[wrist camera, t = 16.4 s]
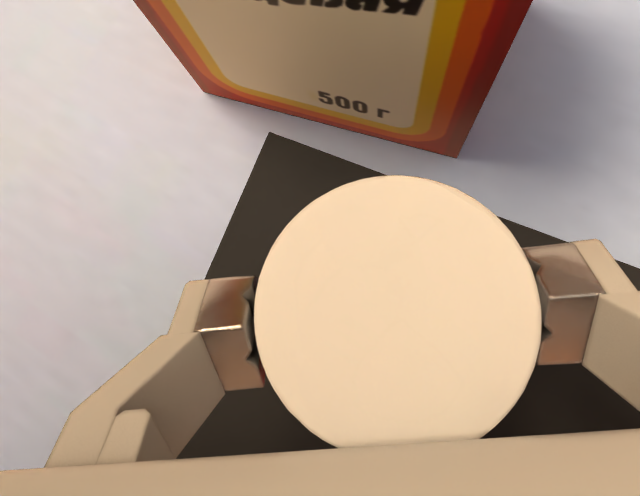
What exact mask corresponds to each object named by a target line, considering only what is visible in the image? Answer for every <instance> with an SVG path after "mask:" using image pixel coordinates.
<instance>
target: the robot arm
mask: <svg viewBox="0 0 640 496" xmlns="http://www.w3.org/2000/svg"><path fill="white" fill-rule="evenodd" d="M521 249H522V250H523V252H524V253H525V256H526V258H527V260H528V262H529V264H530V266H531V269H532V271H533V274H534V278H535V281H536V284H537V288H538V293H539V298H540V304H541V319H542V326H541V342H540V347H539V351H538V356H537V360H536V363H537V366H538V365H557V364H575V363H582V366H584V367H585V368H586V369H587V370H589V371H590V372H591V373H592V374H594V375H595V376H596V377H597V378H599V379H600V380H601V381H602V382H604V383H605V384H606V385H607V386H609V387H610V388H611V389H612V390H614V391H615V392H616V393H617V394H618V395H620V396H621V397H622V398H623V399H625V400H626V401H627V402H628V403H630V404H631V405H632V406H633V407H635V408H636V409H637V410H638V411H640V291H637V289H636V288H635V287H634V285H633V284H632V283H631V281H630V280H629V279H628V277H627V276H626V275H625V273H624V272H623V270H622V269H621V268H620V266H619V265H618V264H617V262H616V261H615V260H614V258H613V257H612V256H611V254H610V253H609V252H608V250H607V249H606V248H605V246H604V245H603V244H602V242H601V241H599V240H597V239H589V240H581V241H574V242H570V243H562V244H553V245H544V246H534V247H525V248H521ZM258 280H259V278H258V277H257V276H256V275H252V276H240V277H227V278H215V279H206V280H195V281H189V282H188V283H187V284H186V285H185V287H184V289H183V292H182V295H181V298H180V301H179V303H178V306H177V309H176V312H175V315H174V317H173V320H172V323H171V326H170V329H169V331H168V334H167V335H161V336H160V337H158V338H157V339H156V340H155V341H154V342H153V343H151V344H150V345H149V346H148V347H147V348H146V349H144V350H143V351H142V352H141V353H140V354H139V355H137V356H136V357H135V358H134V359H133V360H132V361H130V362H129V363H128V364H127V365H126V366H124V367H123V368H122V369H121V370H120V371H119V372H117V373H116V374H115V375H114V376H113V377H112V378H110V379H109V380H108V381H107V382H106V383H105V384H103V385H102V386H101V387H100V388H99V389H98V390H96V391H95V392H94V393H93V394H92V395H91V396H89V397H88V398H87V399H86V400H85V401H84V402H82V403H81V404H80V405H79V406H78V407H76V408H75V409H74V410H73V411H72V412H71V413H70V415H69V417H68V419H67V421H66V423H65V425H64V427H63V429H62V431H61V433H60V435H59V438H58V440H57V442H56V444H55V446H54V448H53V450H52V452H51V454H50V456H49V458H48V460H47V462H46V464H45V466H44V468H35V469H20V470H5V471H0V496H640V428H638V429H623V430H608V431H593V432H578V433H562V434H547V435H532V436H517V437H502V438H487V439H472V440H457V441H442V442H427V443H412V444H397V445H381V446H366V447H351V448H336V449H321V450H306V451H291V452H276V453H261V454H246V455H231V456H216V457H201V458H186V459H176V458H177V456H178V455H179V454H180V452H181V451H182V450H183V449H184V447H185V446H186V445H187V443H188V442H189V441H190V439H191V438H192V437H193V435H194V434H195V433H196V432H197V430H198V429H199V428H200V426H201V425H202V424H203V422H204V421H205V420H206V418H207V417H208V416H209V415H210V413H211V412H212V411H213V409H214V408H215V407H216V405H217V404H218V403H219V401H220V400H221V399H222V398H223V396H224V395H225V392H226V391H235V390H245V389H254V388H263V387H264V384H265V376H266V373H265V370H264V367H263V365H262V362H261V359H260V355H259V352H258V348H257V343H256V337H255V328H254V305H255V295H256V289H257V285H258Z"/></svg>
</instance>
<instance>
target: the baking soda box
mask: <svg viewBox="0 0 640 496" xmlns="http://www.w3.org/2000/svg"><path fill="white" fill-rule="evenodd" d="M133 1H134V2H135V3H136V5H137V6H138V7H139V9H140V10H141V11H142V12H143V14H144V15H145V16H146V18H147V19H148V20H149V22H150V23H151V24H152V25H153V27H154V28H155V29H156V31H157V32H158V33H159V35H160V36H161V37H162V38H163V40H164V41H165V42H166V44H167V45H168V46H169V47H170V49H171V50H172V51H173V53H174V54H175V55H176V57H177V58H178V59H179V60H180V62H181V63H182V64H183V66H184V67H185V68H186V70H187V71H188V72H189V73H190V75H191V76H192V77H193V79H194V80H195V81H196V83H197V84H198V85H199V86H200V88H201V89H202V90H203V92H206V93H210V94H214V95H218V96H221V97H225V98H229V99H233V100H237V101H240V102H244V103H248V104H252V105H256V106H259V107H263V108H267V109H271V110H275V111H279V112H282V113H286V114H290V115H294V116H298V117H301V118H305V119H309V120H313V121H317V122H320V123H324V124H328V125H332V126H336V127H339V128H343V129H347V130H351V131H355V132H359V133H362V134H366V135H370V136H374V137H378V138H381V139H385V140H389V141H393V142H397V143H400V144H404V145H408V146H412V147H416V148H420V149H423V150H427V151H431V152H435V153H439V154H442V155H446V156H450V157H454V158H457V156H458V154H459V152H460V150H461V148H462V146H463V144H464V142H465V140H466V138H467V136H468V134H469V131H470V129H471V127H472V125H473V123H474V121H475V119H476V117H477V115H478V113H479V111H480V109H481V107H482V105H483V102H484V100H485V98H486V96H487V94H488V92H489V90H490V88H491V86H492V84H493V82H494V80H495V78H496V76H497V74H498V71H499V69H500V67H501V65H502V63H503V61H504V59H505V57H506V55H507V53H508V51H509V49H510V47H511V45H512V42H513V40H514V38H515V36H516V34H517V32H518V30H519V28H520V26H521V24H522V22H523V20H524V18H525V16H526V13H527V11H528V9H529V7H530V5H531V3H532V1H533V0H133Z"/></svg>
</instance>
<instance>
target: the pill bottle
mask: <svg viewBox="0 0 640 496" xmlns="http://www.w3.org/2000/svg"><path fill="white" fill-rule="evenodd" d="M541 326H542V319H541V304H540V298H539V293H538V288H537V284H536V281H535V278H534V274H533V271H532V269H531V266H530V264H529V262H528V260H527V258H526V256H525V253H524V252H523V250H522V249H521V247H520V245H519V244H518V242H517V241H516V239H515V238H514V236H513V234H512V233H511V231H510V230H509V229H508V228H507V227H506V226H505V225H504V224H503V223H502V222H501V220H500V219H499V218H498V217H497V216H496V215H495V214H494V213H492V212H491V211H490V210H489V209H487V208H486V207H485V206H484V205H482V204H481V203H479V202H478V201H477V200H475V199H474V198H473V197H471V196H469V195H467V194H465V193H463V192H462V191H460V190H458V189H456V188H453V187H451V186H448V185H446V184H443V183H440V182H437V181H434V180H430V179H425V178H420V177H412V176H401V175H391V176H377V177H371V178H365V179H361V180H357V181H354V182H351V183H347V184H345V185H342V186H340V187H337V188H335V189H333V190H331V191H329V192H328V193H326V194H324V195H322V196H320V197H319V198H317V199H315V200H314V201H312V202H311V203H310V204H309V205H307V206H306V207H305V208H304V209H302V210H301V211H300V212H299V213H298V214H297V215H296V216H295V217H294V218H293V219H292V220H291V221H290V222H289V223H288V224H287V226H286V227H285V228H284V230H283V231H282V232H281V234H280V235H279V236H278V238H277V239H276V241H275V242H274V244H273V246H272V247H271V249H270V252H269V254H268V256H267V258H266V260H265V263H264V265H263V268H262V271H261V273H260V276H259V280H258V285H257V289H256V295H255V305H254V328H255V337H256V343H257V348H258V352H259V355H260V359H261V362H262V365H263V367H264V370H265V373H266V375H267V377H268V379H269V381H270V383H271V385H272V387H273V389H274V391H275V392H276V394H277V395H278V397H279V398H280V400H281V401H282V403H283V404H284V405H285V407H286V408H287V409H288V410H289V412H290V413H291V414H292V415H294V416H295V417H296V418H297V419H298V420H299V421H300V422H301V423H302V424H303V425H304V426H305V427H306V428H307V429H308V430H309V431H310V432H312V433H313V434H315V435H316V436H318V437H319V438H321V439H322V440H323V441H325V442H327V443H329V444H331V445H333V446H335V447H337V448H351V447H366V446H381V445H397V444H412V443H427V442H442V441H457V440H472V439H480V438H481V437H483V436H484V435H485V434H487V433H488V432H489V431H490V430H492V429H493V428H494V427H495V426H496V425H497V424H498V423H499V422H500V421H501V420H502V419H503V418H504V417H505V416H506V415H507V414H508V413H509V411H510V410H511V409H512V408H513V407H514V405H515V404H516V402H517V401H518V399H519V398H520V396H521V395H522V393H523V392H524V390H525V388H526V386H527V383H528V381H529V379H530V377H531V374H532V372H533V370H534V367H535V363H536V360H537V356H538V351H539V347H540V342H541Z"/></svg>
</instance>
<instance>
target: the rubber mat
mask: <svg viewBox="0 0 640 496" xmlns="http://www.w3.org/2000/svg"><path fill="white" fill-rule="evenodd" d="M377 176H387V175H385V174H382V173H379V172H376V171H374V170H371V169H368V168H366V167H363V166H360V165H358V164H355V163H352V162H349V161H347V160H344V159H341V158H339V157H336V156H333V155H330V154H328V153H325V152H322V151H320V150H317V149H314V148H312V147H309V146H306V145H303V144H301V143H298V142H295V141H293V140H290V139H287V138H284V137H282V136H279V135H276V134H274V133H271V132H269V133H268V136H267V138H266V140H265V143H264V145H263V147H262V149H261V152H260V154H259V156H258V158H257V161H256V163H255V165H254V168H253V170H252V172H251V174H250V177H249V179H248V181H247V184H246V186H245V188H244V190H243V193H242V195H241V197H240V200H239V202H238V204H237V206H236V209H235V211H234V213H233V216H232V218H231V220H230V222H229V225H228V227H227V229H226V231H225V234H224V236H223V238H222V241H221V243H220V245H219V247H218V250H217V252H216V254H215V257H214V259H213V261H212V263H211V266H210V268H209V270H208V273H207V275H206V277H205V279H204V280H206V279H215V278H227V277H240V276H252V275H256V276H257V277H258V278H259V276H260V273H261V271H262V268H263V265H264V263H265V260H266V258H267V256H268V254H269V252H270V249H271V247H272V246H273V244H274V242H275V241H276V239H277V238H278V236H279V235H280V234H281V232H282V231H283V230H284V228H285V227H286V226H287V224H288V223H289V222H290V221H291V220H292V219H293V218H294V217H295V216H296V215H297V214H298V213H299V212H300V211H301V210H302V209H304V208H305V207H306V206H307V205H309V204H310V203H311V202H312V201H314V200H315V199H317V198H319V197H320V196H322V195H324V194H326V193H328V192H329V191H331V190H333V189H335V188H337V187H340V186H342V185H345V184H347V183H351V182H354V181H357V180H361V179H365V178H371V177H377ZM497 217H498V216H497ZM498 218H499V219H500V220H501V222H502V223H503V224H504V225H505V226H506V227H507V228H508V229H509V230H510V231H511V233H512V234H513V236H514V238H515V239H516V241H517V242H518V244H519V245H520V247H521V248H525V247H534V246H544V245H553V244H562V243H569V242H566V241H563V240H560V239H558V238H555V237H552V236H550V235H547V234H544V233H542V232H539V231H536V230H533V229H531V228H528V227H525V226H523V225H520V224H517V223H514V222H512V221H509V220H506V219H504V218H501V217H498ZM614 260H615V259H614ZM615 261H616V262H617V264H618V265H619V266H620V268H621V269H622V270H623V272H624V273H625V275H626V276H627V277H628V279H629V280H630V281H631V283H632V284H633V285H634V287H635V288H636V289H637V291H640V269H639V268H636V267H634V266H631V265H628V264H625V263H623V262H620V261H617V260H615ZM638 428H640V411H638V410H637V409H636V408H635V407H633V406H632V405H631V404H630V403H628V402H627V401H626V400H625V399H623V398H622V397H621V396H620V395H618V394H617V393H616V392H615V391H614V390H612V389H611V388H610V387H609V386H607V385H606V384H605V383H604V382H602V381H601V380H600V379H599V378H597V377H596V376H595V375H594V374H592V373H591V372H590V371H589V370H587V369H586V368H585V367H584V366H582V363H575V364H557V365H538V366H537V363H535V367H534V370H533V372H532V374H531V377H530V379H529V381H528V383H527V386H526V388H525V390H524V392H523V393H522V395H521V396H520V398H519V399H518V401H517V402H516V404H515V405H514V407H513V408H512V409H511V410H510V411H509V413H508V414H507V415H506V416H505V417H504V418H503V419H502V420H501V421H500V422H499V423H498V424H497V425H496V426H495V427H494V428H493V429H492V430H490V431H489V432H488V433H487V434H485V435H484V436H483V437H481V438H480V439H487V438H502V437H517V436H532V435H547V434H562V433H578V432H593V431H608V430H623V429H638ZM336 448H337V447H335V446H333V445H331V444H329V443H327V442H325V441H323V440H322V439H321V438H319V437H318V436H316V435H315V434H313V433H312V432H310V431H309V430H308V429H307V428H306V427H305V426H304V425H303V424H302V423H301V422H300V421H299V420H298V419H297V418H296V417H295V416H294V415H292V414H291V413H290V412H289V410H288V409H287V408H286V407H285V405H284V404H283V403H282V401H281V400H280V398H279V397H278V395H277V394H276V392H275V391H274V389H273V387H272V385H271V383H270V381H269V379H268V377H267V375H266V376H265V384H264V387H263V388H254V389H245V390H235V391H226V392H225V395H224V396H223V398H222V399H221V400H220V401H219V403H218V404H217V405H216V407H215V408H214V409H213V411H212V412H211V413H210V415H209V416H208V417H207V418H206V420H205V421H204V422H203V424H202V425H201V426H200V428H199V429H198V430H197V432H196V433H195V434H194V435H193V437H192V438H191V439H190V441H189V442H188V443H187V445H186V446H185V447H184V449H183V450H182V451H181V452H180V454H179V455H178V456H177V458H176V459H186V458H201V457H216V456H231V455H246V454H261V453H276V452H291V451H306V450H321V449H336Z"/></svg>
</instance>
